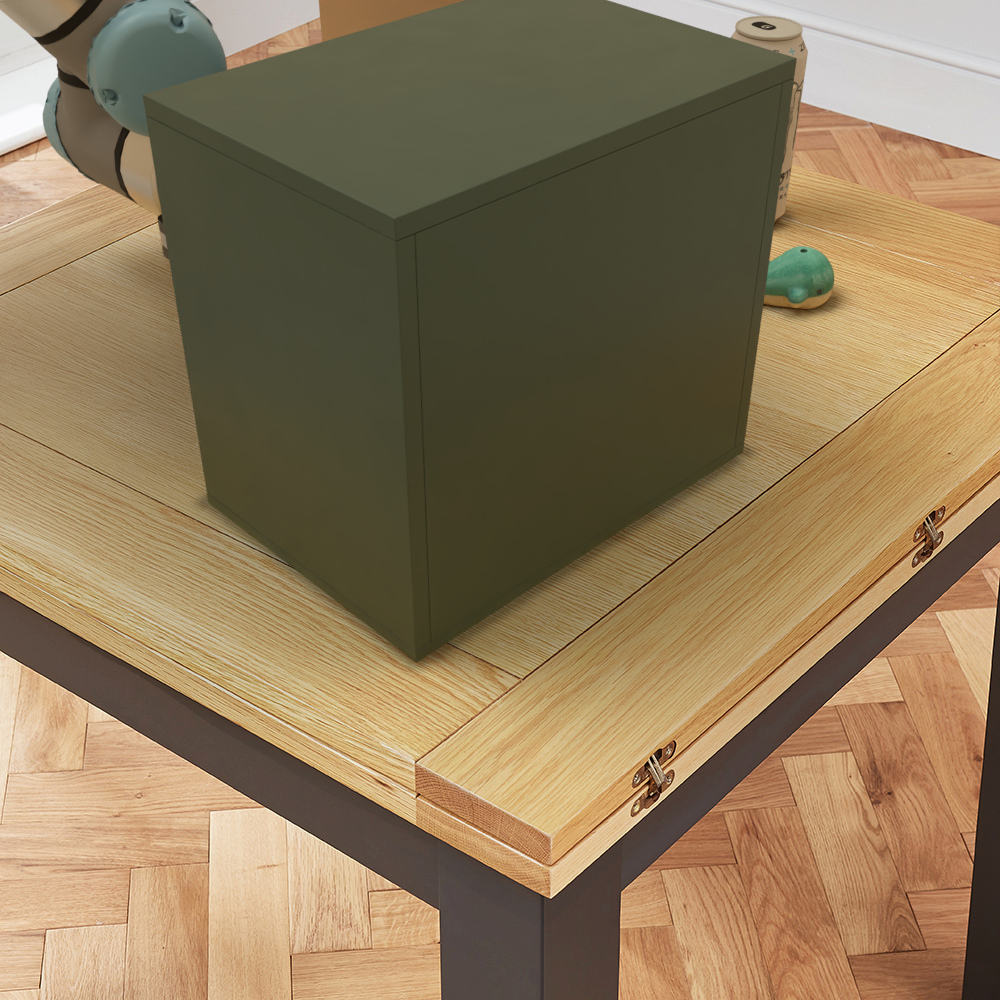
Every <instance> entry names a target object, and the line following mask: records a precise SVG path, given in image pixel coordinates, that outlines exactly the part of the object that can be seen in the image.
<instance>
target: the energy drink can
mask: <svg viewBox="0 0 1000 1000" xmlns="http://www.w3.org/2000/svg"><path fill="white" fill-rule="evenodd" d="M734 28H735V30H734V32H733V33H732V34H731V36H730V38H733V39H736V40H739V41H742V42H746V43H749V44H752V45H755V46H759V47H762V48H765V49H769V50H772V51H775V52H778V53H782V54H785V55H788V56H791V57H795V58H797V61H796V69H795V76H794V84H793V91H792V99H791V106H790V113H789V121H788V128H787V135H786V142H785V150H784V157H783V164H782V172H781V179H780V186H779V194H778V201H777V208H776V216H775V222H777V220H778V219H779V218H781V217H782V216H783V215H784V214H785V212H786V209H787V202H788V195H789V188H790V181H791V175H792V166H793V160H794V153H795V145H796V140H797V139H796V138H797V131H798V125H799V119H800V112H801V105H802V104H801V103H802V98H803V97H802V96H803V89H804V84H805V77H806V69H807V61H808V55H809V51H808V47H807V45H806V43H805V41H804V40H805V39H804V37H803V35H802V33H803V31H804V28H803V26H802V24H800V23H799V22H797V21H796V20H793V19H790V18H786V17H782V16H776V15H753V16H747V17H743V18H741V19H739V20H737V21H736V23H735V25H734Z"/></svg>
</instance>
